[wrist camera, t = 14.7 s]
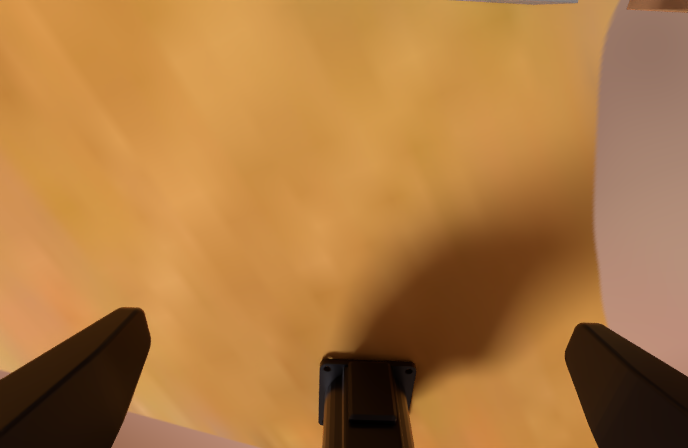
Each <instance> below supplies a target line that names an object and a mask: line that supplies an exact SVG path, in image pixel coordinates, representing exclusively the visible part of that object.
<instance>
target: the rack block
mask: <svg viewBox="0 0 688 448" xmlns="http://www.w3.org/2000/svg"><path fill="white" fill-rule="evenodd" d="M458 1H477V2H496V3H515V4H533V5H536V4H563V3H578V0H458Z"/></svg>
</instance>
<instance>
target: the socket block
mask: <svg viewBox="0 0 688 448" xmlns="http://www.w3.org/2000/svg"><path fill="white" fill-rule="evenodd" d="M627 10H647V11H665V12H684V13H685V12H686V13H688V0H630V1H629V4H628V7H627Z"/></svg>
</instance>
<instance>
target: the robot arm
mask: <svg viewBox="0 0 688 448" xmlns="http://www.w3.org/2000/svg"><path fill="white" fill-rule="evenodd" d="M150 345H151V337H150V332H149V329H148V325H147V321H146V317H145V313H144V311H143V310H142V309H141V308H134V307H121V308H118V309H117V310H115V311H113V312H112V313H110V314H108V315H107V316H105V317H103V318H102V319H100V320H98V321H97V322H95V323H93V324H92V325H90V326H88V327H87V328H85V329H83V330H82V331H80V332H78V333H77V334H75V335H73V336H72V337H70V338H69V339H67V340H65V341H64V342H62V343H60V344H59V345H57V346H55V347H54V348H52V349H50V350H49V351H47V352H45V353H44V354H42V355H40V356H39V357H37V358H35V359H34V360H32V361H30V362H29V363H27V364H26V365H24V366H22V367H21V368H19V369H17V370H16V371H14V372H12V373H11V374H9V375H7V376H6V377H4V378H2V379H1V380H0V448H111V447H112V445H113V443H114V441H115V439H116V436H117V434H118V432H119V430H120V428H121V426H122V423H123V421H124V419H125V416H126V413H127V411H128V408H129V405H130V403H131V400H132V397H133V394H134V392H135V389H136V386H137V383H138V380H139V378H140V375H141V372H142V369H143V366H144V364H145V361H146V358H147V355H148V352H149V349H150ZM565 361H566V365H567V367H568V370H569V373H570V375H571V378H572V381H573V384H574V386H575V389H576V392H577V394H578V397H579V400H580V403H581V405H582V408H583V411H584V413H585V416H586V419H587V422H588V424H589V427H590V429H591V432H592V434H593V436H594V438H595V441H596V443H597V445H598V447H599V448H688V377H687V376H686V375H684V374H683V373H681V372H679V371H678V370H676V369H674V368H672V367H671V366H669V365H668V364H666V363H664V362H663V361H661V360H660V359H658V358H656V357H655V356H653V355H651V354H650V353H648V352H646V351H645V350H643V349H641V348H640V347H638V346H636V345H635V344H633V343H632V342H630V341H628V340H627V339H625V338H623V337H621V336H620V335H618V334H617V333H615V332H614V331H612V330H610V329H609V328H607V327H605V326H604V325H602V324H599V323H579V324H578V325H577V326H576V327H575V329H574V331H573V334H572V336H571V338H570V341H569V343H568V345H567V348H566V350H565ZM326 366H328V367H326ZM407 369H408V370H407ZM415 376H416V367H415V364H414V363H412V362H405V361H373V360H341V359H325V360H322V361H321V363H320V380H319V424H320V425H323V445H322V448H414V442H413V436H412V430H411V424H410V417H409V407H410V402H411V397H412V391H413V386H414V381H415Z"/></svg>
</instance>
